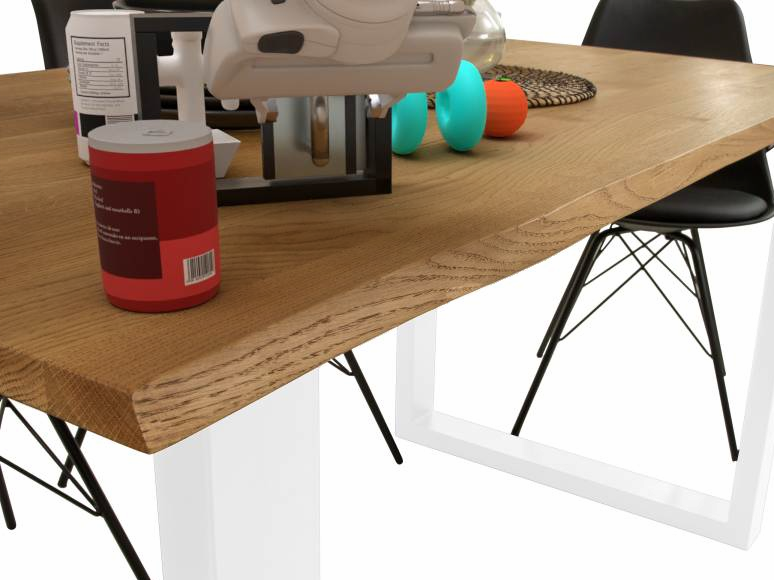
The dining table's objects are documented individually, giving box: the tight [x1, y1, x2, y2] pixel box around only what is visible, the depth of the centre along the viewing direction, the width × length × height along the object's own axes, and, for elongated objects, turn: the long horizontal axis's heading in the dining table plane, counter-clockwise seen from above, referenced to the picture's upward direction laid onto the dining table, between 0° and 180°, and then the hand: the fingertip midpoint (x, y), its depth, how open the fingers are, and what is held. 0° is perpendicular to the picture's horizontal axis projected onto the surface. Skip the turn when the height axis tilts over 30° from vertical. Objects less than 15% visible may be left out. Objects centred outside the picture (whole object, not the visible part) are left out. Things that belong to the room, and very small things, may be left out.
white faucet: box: [157, 32, 242, 179], centre depth 97 cm, size 7×9×15 cm
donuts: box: [392, 59, 487, 156], centre depth 111 cm, size 10×10×10 cm
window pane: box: [259, 95, 357, 180], centre depth 88 cm, size 9×5×13 cm, turn 112°
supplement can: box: [64, 8, 145, 167], centre depth 102 cm, size 8×8×15 cm
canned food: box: [88, 119, 222, 313], centre depth 66 cm, size 8×8×11 cm
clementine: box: [483, 76, 529, 138], centre depth 121 cm, size 8×7×7 cm
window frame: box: [129, 12, 393, 207], centre depth 90 cm, size 22×4×16 cm, turn 112°
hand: (320, 114), depth 85 cm, fingers open, 8 cm apart
